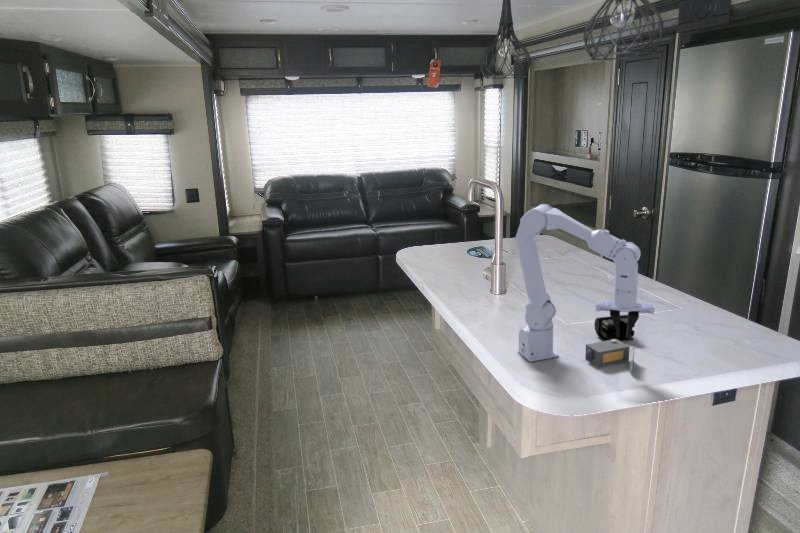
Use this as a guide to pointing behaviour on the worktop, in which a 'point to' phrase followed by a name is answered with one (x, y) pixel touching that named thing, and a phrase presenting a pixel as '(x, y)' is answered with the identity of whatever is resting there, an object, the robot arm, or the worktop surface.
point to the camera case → (607, 352)
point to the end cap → (612, 328)
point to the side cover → (631, 359)
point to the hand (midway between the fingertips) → (622, 336)
